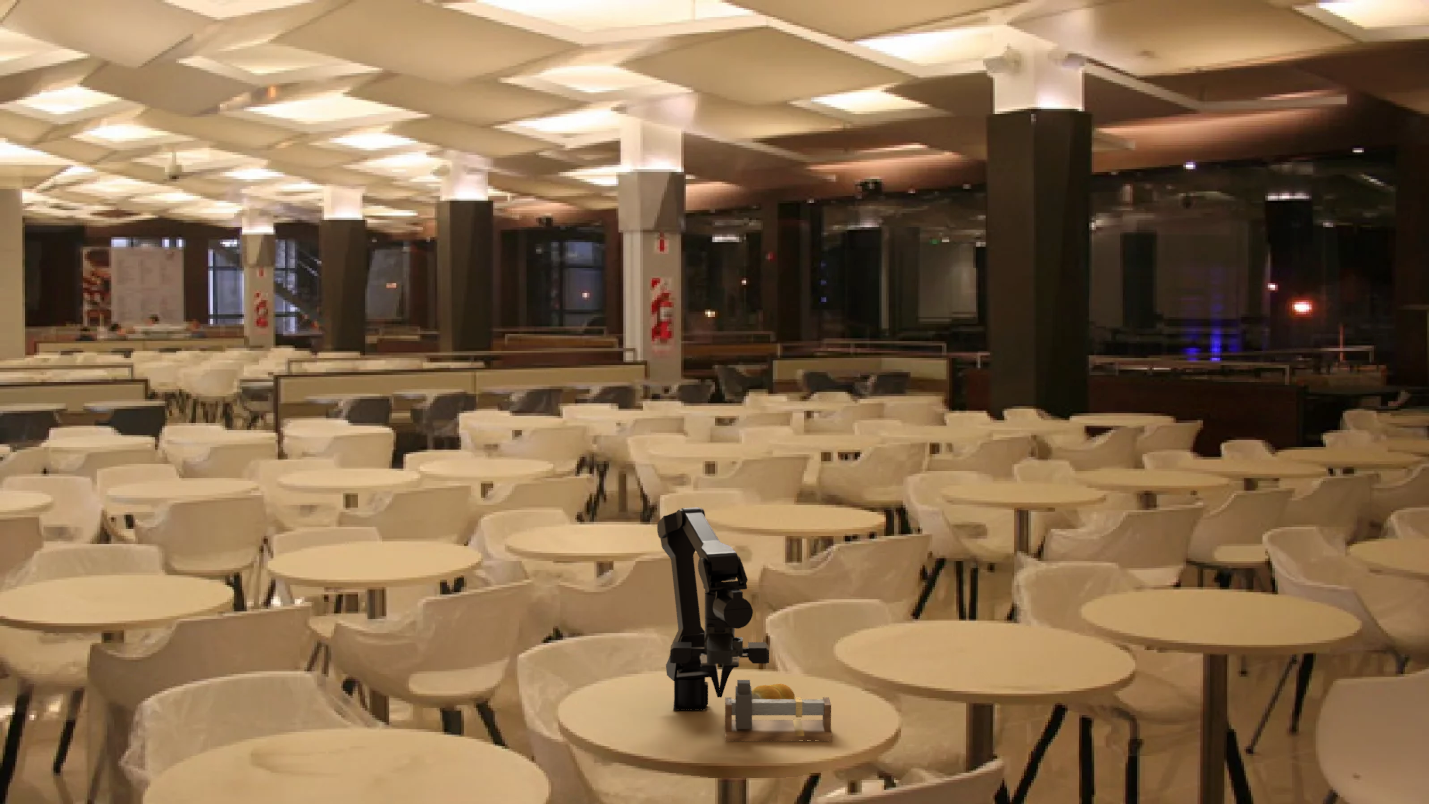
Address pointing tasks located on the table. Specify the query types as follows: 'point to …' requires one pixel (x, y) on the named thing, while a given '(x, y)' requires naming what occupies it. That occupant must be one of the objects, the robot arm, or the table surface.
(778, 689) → the bread roll
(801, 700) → the brushed metal beam
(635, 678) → the table surface
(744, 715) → the grey stepped block
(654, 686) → the table surface
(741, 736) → the stand
